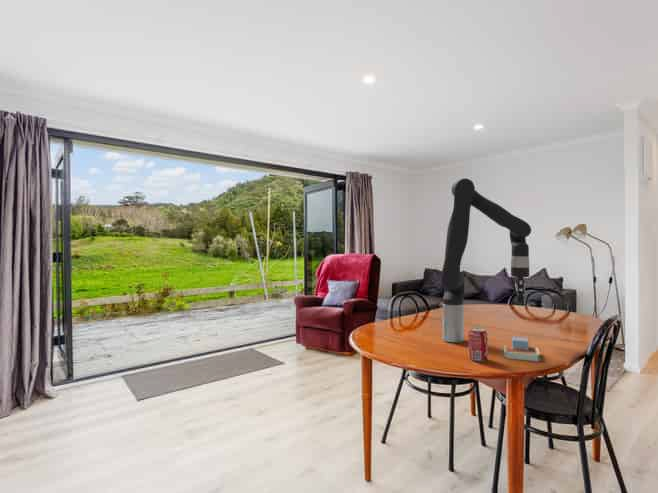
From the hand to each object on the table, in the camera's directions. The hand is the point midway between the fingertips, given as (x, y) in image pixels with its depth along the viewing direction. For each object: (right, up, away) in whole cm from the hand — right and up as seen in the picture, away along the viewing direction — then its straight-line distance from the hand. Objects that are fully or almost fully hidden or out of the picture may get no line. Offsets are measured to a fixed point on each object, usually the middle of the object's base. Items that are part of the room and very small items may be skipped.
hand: (519, 301), depth 173 cm
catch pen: (-9, -19, -20) cm, 29 cm away
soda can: (-28, -20, -23) cm, 41 cm away
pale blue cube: (-4, -19, -9) cm, 21 cm away
